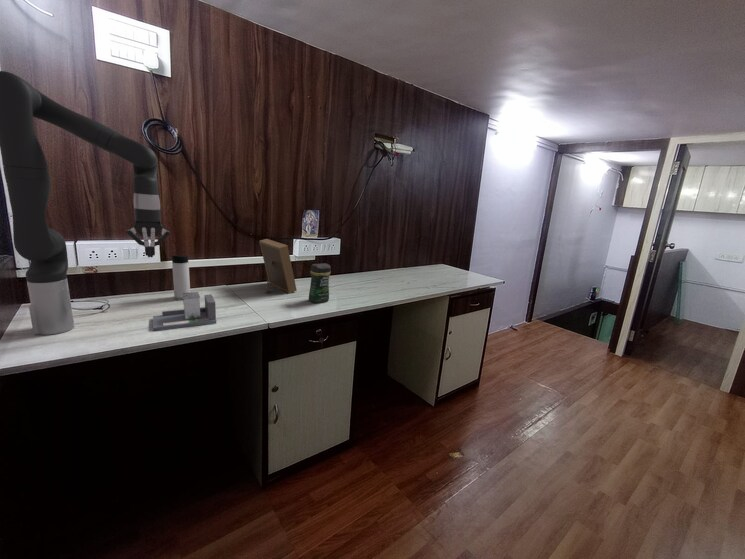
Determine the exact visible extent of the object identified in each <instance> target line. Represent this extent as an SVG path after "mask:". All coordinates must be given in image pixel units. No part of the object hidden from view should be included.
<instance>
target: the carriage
mask: <svg viewBox="0 0 745 559" xmlns="http://www.w3.org/2000/svg"><path fill="white" fill-rule="evenodd" d="M200 299H201V297H200V294H199V291H193V292H192V291H190V293H183V300H182V302H183V303H182V304H183V305H182V306H183V309H184V316H185V320H188V319H192V320H195V319H197V318H200V308H201V302H200Z"/></svg>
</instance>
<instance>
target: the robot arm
mask: <svg viewBox="0 0 745 559" xmlns="http://www.w3.org/2000/svg"><path fill="white" fill-rule="evenodd" d="M35 118H36V119H38V120H42V121H44V122H47V123H49V124H52V125H54V126H56V127H58V128H60V129H63V130H64V131H66V132H68V133H70V134H72V135H73V136H75V137H77V138H79V139H81V140H83V141H84V142H86V143H88V144H91V145H93V146H94V147H97V148H100V149H101V150H103V151H106V152H107V153H110V154H113V155H116V156H118V157H120V158H122V159H123V160H125V161H126V162H129V163H131V164H132V165H133V180H132V184H133V185H132V186H133V212H134V224H133V226H132V227H131V228H130V229H127V230H126V234H128V235H129V237H131V238H132V240H134V241H135V242H136V243H137V244H138V245H139V246H143V247H144V255H145V256H147V258H153V257H154V256H155V255H156V247H157V246H160V245H161V244H162V243H163V242H164V241H165V240H166V239H167V238H168V236H169V235H170V234H171V233H170V231H169V230H167V229H165V228H164V226H163V224H162V216H161V215H162V214H161V212H162V211H161V200H160V195H159V194H160V192H159V183H158V157H157V155H156V153H155V152H154V151H153V149H151V148H150V147H148V146H147V145H145V144H142V143H141V142H138V141H136V140H134V139H132V138H129V137H127V136H125V135H123V134H121V133H120V132H119V131H117V130H114V129H113V128H111V127H109V126H106V125H105V124H103V123H100V122H98V121H96V120H95V119H92V118H89V117H87V116H85V115H82V114H81V113H78V112H76V111H74V110H71V109H69V108H67V107H66V106H64V105H62V104H60V103H57V102H56V101H55V100H53V99H51V98H50V97H48V96H47V95H46V94H44V93H42V92H41V91H39V90H38V89H36V88H35V87H34V86H33V85H32V84H30V83H29V82H28V81H26V80H25V79H23V78H22V77H20V76H18V75H17V74H14V73H12V72H10V71H9V72H8V71H5V70H0V155H1V162H2V168H3V173H4V174H3V175H4V179H5V183H6V187H7V193H8V199H9V204H10V207H11V215H12V231H13V238H12V239H13V246H14V249H15V251H16V253H18V255H19V256H20V257H22V258H24V259H25V260H27V261H30V263H29V264H30V265H29V267H28V269H27V271H26V272H25V278H26V283H27V290H28V295H29V301H30V305H29V306H28V310H29V316H30V320H31V327H32V332H33V335H42V336H43V335H45V336H47V335H56V334H61V333H65V332H68V331H70V330H73V329H74V328H75V324H74V322H75V321H74V316H73V309H72V301H71V296H70V288H69V282H68V276H67V275H68V274H67V273H68V270H69V260H68V258H69V257H68V250H67V244H66V240H65V238H64V236H63V235H62V234H61V233H60V232H59V231H57V230H55V229H53V228H49V227H48V224H47V217H46V216H47V214H46V213H47V207H48V202H49V199H50V194H51V188H52V187H51V185H52V184H51V177H50V170H49V165H48V161H47V158H46V156H45V153H44V151H43V149H42V146H41V143H40V142H39V140H38V137H37V135H36V131H35V130H36V129H35V124H34V119H35ZM137 233H138V234H139V235H140V236H141V237H142V238H143V240H142V239H141V238H140V237H139V236H137ZM160 233H161V236H160V237H159V238H158V240H156V237H158V236H159V234H160ZM149 238H150V240H149ZM155 240H156V241H155ZM149 241H150V242H149Z"/></svg>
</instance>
